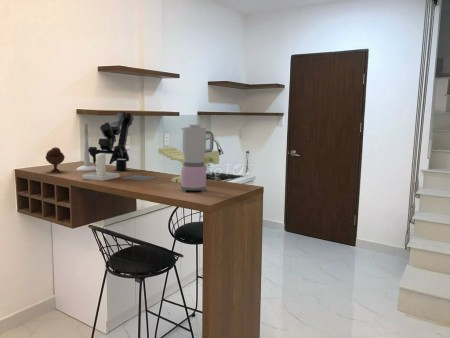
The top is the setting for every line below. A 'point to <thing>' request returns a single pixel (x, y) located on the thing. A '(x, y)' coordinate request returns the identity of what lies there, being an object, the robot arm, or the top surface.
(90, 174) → the grey tray
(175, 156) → the slatted curved stool
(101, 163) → the rolled placemat
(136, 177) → the rubber mat
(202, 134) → the blender
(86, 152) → the candlestick
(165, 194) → the top surface
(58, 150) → the ice cream bowl
